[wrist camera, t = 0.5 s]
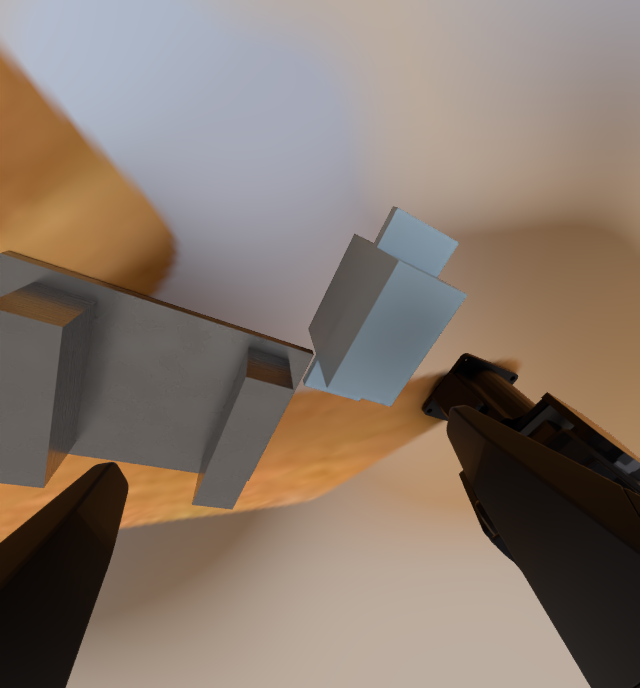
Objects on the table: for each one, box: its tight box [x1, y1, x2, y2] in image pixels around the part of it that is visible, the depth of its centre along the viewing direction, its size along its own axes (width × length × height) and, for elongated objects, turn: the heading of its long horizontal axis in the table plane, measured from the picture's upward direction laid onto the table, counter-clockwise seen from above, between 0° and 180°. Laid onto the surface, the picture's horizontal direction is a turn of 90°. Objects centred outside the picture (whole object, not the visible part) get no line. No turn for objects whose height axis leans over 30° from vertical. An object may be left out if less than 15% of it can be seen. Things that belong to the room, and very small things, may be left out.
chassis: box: [0, 251, 314, 509], centre depth 20 cm, size 18×14×4 cm
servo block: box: [303, 207, 467, 407], centre depth 18 cm, size 11×4×7 cm, turn 155°
